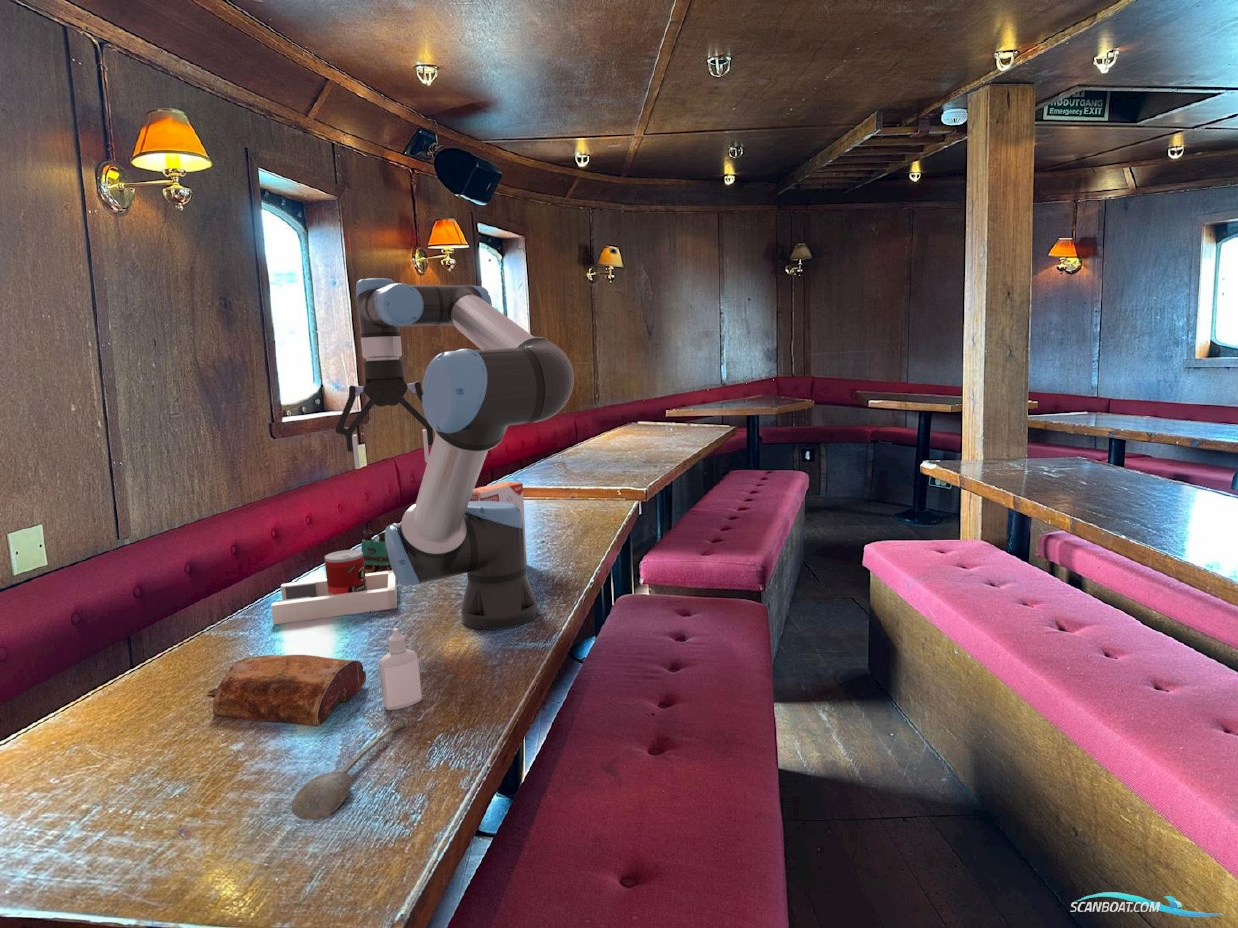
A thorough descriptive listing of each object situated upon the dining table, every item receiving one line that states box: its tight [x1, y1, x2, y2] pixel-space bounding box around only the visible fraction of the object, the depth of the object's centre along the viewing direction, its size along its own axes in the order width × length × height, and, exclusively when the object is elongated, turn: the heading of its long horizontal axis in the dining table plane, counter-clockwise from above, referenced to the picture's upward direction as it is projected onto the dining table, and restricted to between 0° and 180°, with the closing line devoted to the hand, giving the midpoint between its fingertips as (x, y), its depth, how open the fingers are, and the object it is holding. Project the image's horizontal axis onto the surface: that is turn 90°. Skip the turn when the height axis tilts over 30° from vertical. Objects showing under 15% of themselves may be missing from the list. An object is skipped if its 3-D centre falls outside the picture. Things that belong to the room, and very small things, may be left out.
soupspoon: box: [291, 717, 409, 819], centre depth 97 cm, size 22×3×7 cm
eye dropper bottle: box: [378, 627, 423, 711], centre depth 113 cm, size 4×6×12 cm
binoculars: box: [360, 530, 392, 574], centre depth 184 cm, size 9×11×10 cm
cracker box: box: [469, 481, 528, 566], centre depth 178 cm, size 14×6×21 cm, turn 143°
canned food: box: [324, 549, 367, 595], centre depth 160 cm, size 8×8×11 cm
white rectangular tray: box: [270, 570, 398, 626], centre depth 160 cm, size 15×24×4 cm, turn 106°
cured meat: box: [206, 654, 367, 727], centre depth 118 cm, size 18×25×7 cm
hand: (392, 464), depth 151 cm, fingers open, 13 cm apart
